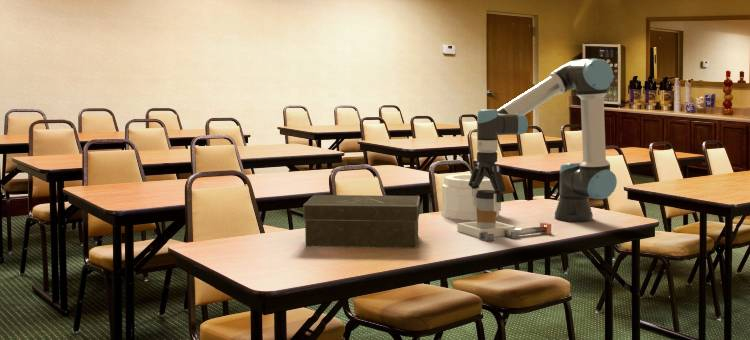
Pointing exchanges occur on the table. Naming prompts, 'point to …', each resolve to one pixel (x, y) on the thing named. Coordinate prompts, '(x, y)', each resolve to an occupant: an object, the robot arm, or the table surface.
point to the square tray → (473, 229)
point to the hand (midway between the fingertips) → (486, 208)
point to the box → (361, 221)
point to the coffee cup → (485, 209)
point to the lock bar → (532, 230)
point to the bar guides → (490, 237)
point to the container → (461, 197)
